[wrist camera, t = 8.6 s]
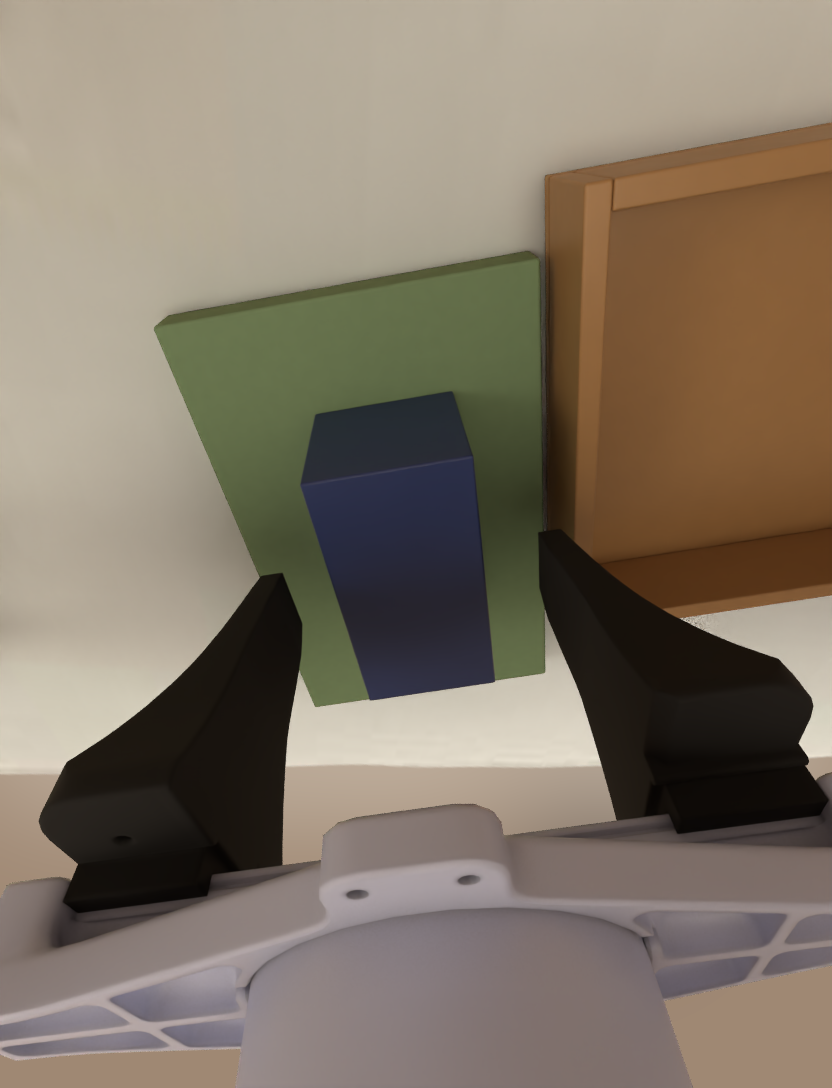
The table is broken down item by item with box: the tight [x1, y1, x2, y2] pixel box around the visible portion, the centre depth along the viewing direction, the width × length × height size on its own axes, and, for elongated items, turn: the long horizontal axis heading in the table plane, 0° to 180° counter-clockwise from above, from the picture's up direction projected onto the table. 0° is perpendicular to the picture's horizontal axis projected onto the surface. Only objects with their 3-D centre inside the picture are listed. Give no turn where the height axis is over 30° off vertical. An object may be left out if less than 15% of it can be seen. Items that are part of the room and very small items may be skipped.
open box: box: [545, 123, 832, 618], centre depth 16 cm, size 13×13×3 cm
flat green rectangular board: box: [154, 251, 545, 707], centre depth 19 cm, size 10×16×1 cm, turn 9°
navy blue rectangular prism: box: [300, 391, 495, 700], centre depth 16 cm, size 4×8×4 cm, turn 9°
